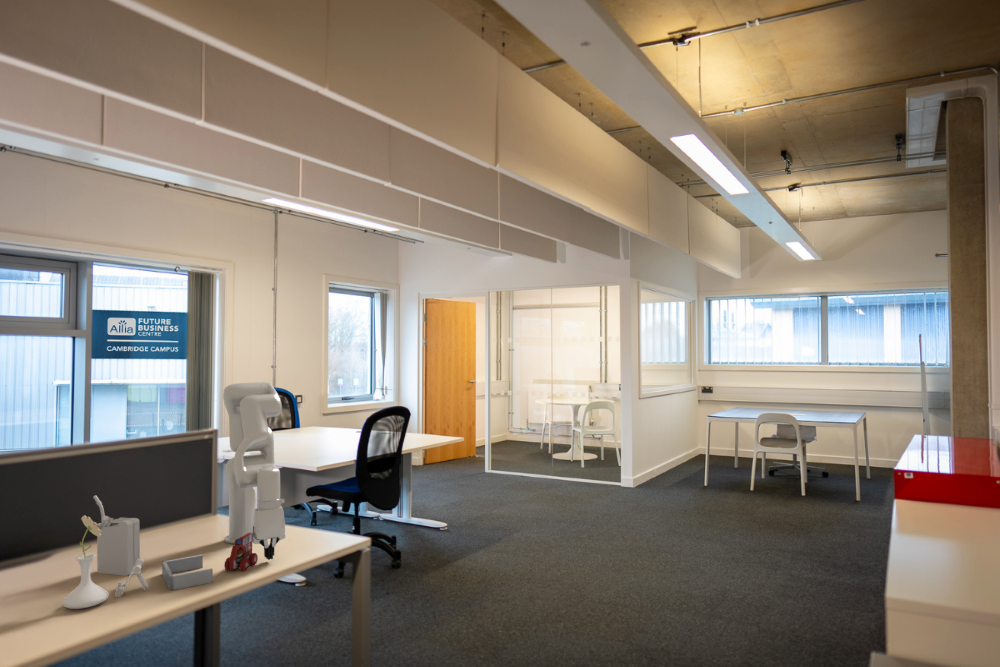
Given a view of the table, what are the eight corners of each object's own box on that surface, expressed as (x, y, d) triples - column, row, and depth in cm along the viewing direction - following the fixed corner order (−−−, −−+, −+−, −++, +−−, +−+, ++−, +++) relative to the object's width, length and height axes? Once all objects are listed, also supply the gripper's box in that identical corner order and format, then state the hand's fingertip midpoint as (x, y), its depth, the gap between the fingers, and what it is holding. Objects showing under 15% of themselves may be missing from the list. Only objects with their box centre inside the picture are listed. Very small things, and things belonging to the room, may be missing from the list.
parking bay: (162, 573, 215) (162, 561, 215) (202, 566, 221) (202, 554, 221) (170, 590, 200) (170, 577, 200) (212, 582, 206) (212, 569, 207)
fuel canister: (90, 572, 218) (90, 496, 218) (103, 567, 222) (103, 492, 223) (127, 576, 213) (126, 498, 214) (139, 571, 218) (139, 495, 218)
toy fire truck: (220, 573, 214) (220, 541, 214) (241, 561, 226) (241, 530, 227) (240, 574, 213) (240, 542, 213) (260, 562, 225) (260, 531, 225)
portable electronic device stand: (119, 588, 203) (118, 560, 203) (148, 584, 206) (147, 557, 206) (115, 598, 195) (115, 569, 195) (145, 593, 198) (145, 565, 198)
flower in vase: (109, 606, 188) (109, 518, 188) (61, 616, 182) (61, 524, 182) (107, 592, 199) (107, 509, 199) (62, 601, 193) (62, 515, 193)
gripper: (287, 499, 233) (288, 551, 232) (243, 505, 224) (243, 559, 224) (294, 503, 226) (294, 557, 226) (248, 509, 218) (249, 565, 218)
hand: (269, 558), depth 225 cm, fingers closed
